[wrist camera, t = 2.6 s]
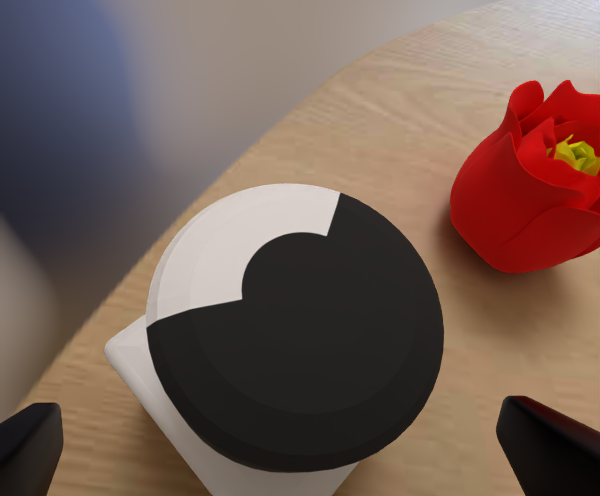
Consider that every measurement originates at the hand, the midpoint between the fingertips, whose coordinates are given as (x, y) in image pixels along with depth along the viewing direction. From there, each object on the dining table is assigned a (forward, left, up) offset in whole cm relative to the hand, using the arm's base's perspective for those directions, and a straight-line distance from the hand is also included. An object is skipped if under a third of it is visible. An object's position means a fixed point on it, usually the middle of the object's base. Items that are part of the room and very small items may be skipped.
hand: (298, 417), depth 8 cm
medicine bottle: (+2, 0, -10) cm, 11 cm away
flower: (+14, -11, -10) cm, 20 cm away
